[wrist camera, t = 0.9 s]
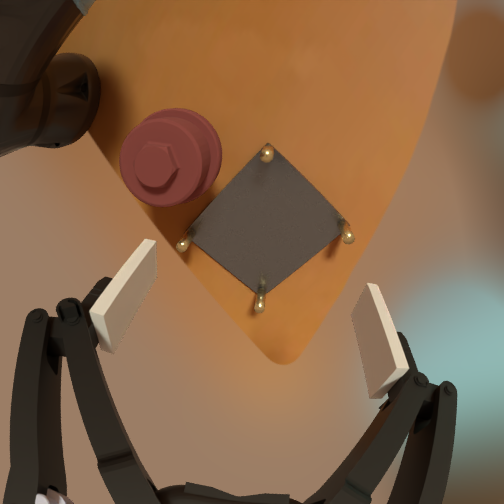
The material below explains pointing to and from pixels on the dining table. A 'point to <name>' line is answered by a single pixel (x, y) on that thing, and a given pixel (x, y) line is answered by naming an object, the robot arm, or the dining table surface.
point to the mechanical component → (170, 157)
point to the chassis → (266, 224)
